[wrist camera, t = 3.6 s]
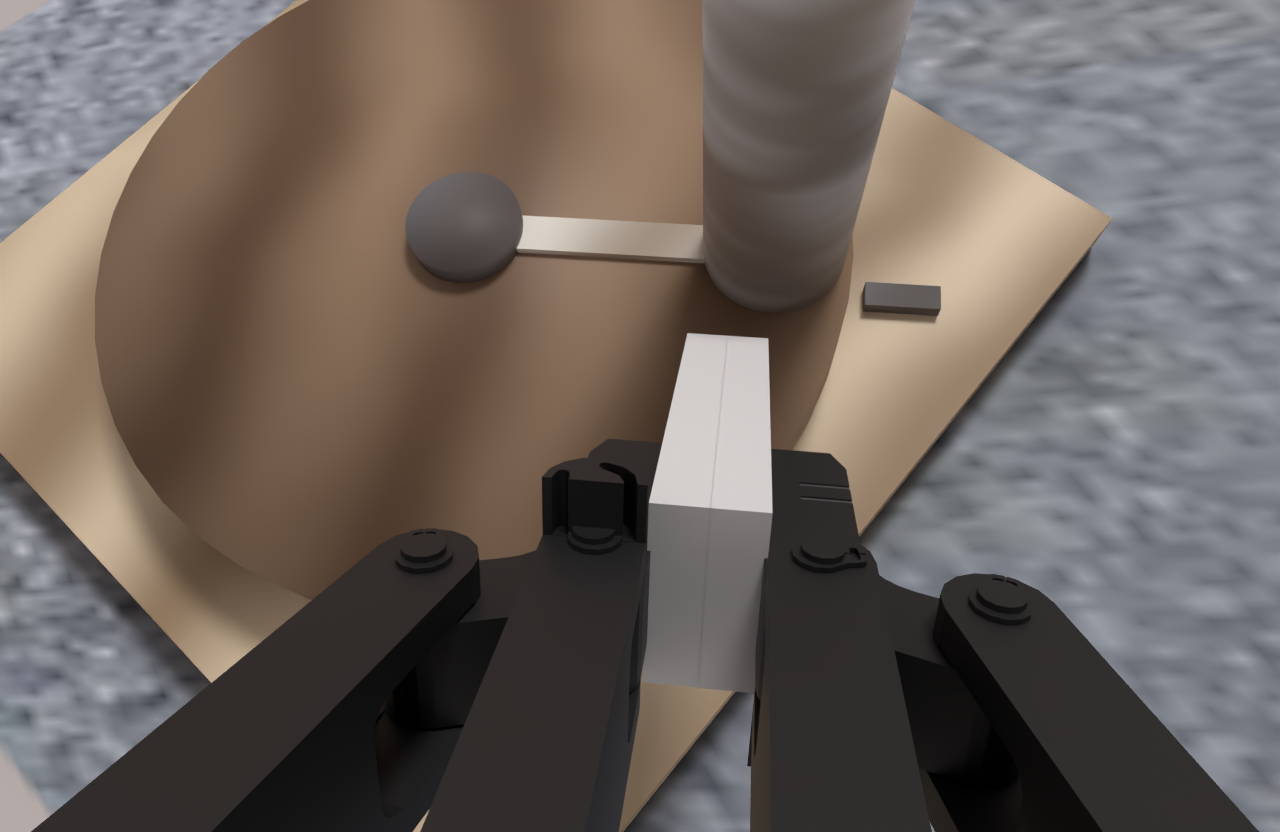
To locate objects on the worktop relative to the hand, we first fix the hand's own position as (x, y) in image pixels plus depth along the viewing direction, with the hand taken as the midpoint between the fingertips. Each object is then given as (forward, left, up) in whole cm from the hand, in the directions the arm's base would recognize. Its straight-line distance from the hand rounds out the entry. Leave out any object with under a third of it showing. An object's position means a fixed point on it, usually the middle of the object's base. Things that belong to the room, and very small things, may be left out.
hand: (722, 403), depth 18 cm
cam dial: (+9, -1, -6) cm, 11 cm away
